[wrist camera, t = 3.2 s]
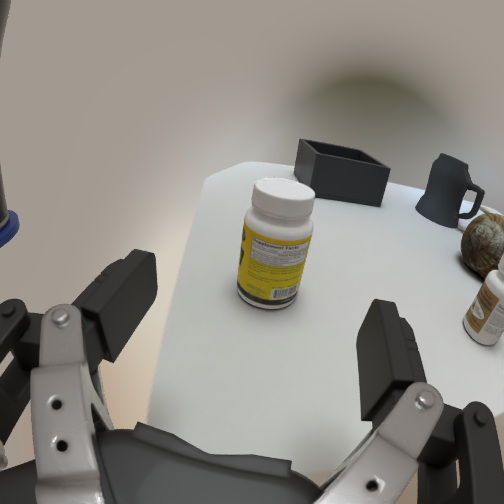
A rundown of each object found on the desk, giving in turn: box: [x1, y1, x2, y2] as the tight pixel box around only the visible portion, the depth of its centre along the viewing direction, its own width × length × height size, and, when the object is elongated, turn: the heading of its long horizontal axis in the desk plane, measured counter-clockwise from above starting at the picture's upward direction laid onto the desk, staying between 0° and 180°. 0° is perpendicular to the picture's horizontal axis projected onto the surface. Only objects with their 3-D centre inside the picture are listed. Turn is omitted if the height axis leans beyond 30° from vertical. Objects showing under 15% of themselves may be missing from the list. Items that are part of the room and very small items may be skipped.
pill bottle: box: [464, 253, 504, 345], centre depth 19 cm, size 4×4×8 cm
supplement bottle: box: [237, 178, 315, 309], centre depth 21 cm, size 5×5×8 cm
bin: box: [294, 139, 390, 207], centre depth 48 cm, size 12×12×7 cm
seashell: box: [461, 213, 504, 279], centre depth 28 cm, size 11×9×8 cm
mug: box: [415, 153, 485, 228], centre depth 43 cm, size 12×9×11 cm
